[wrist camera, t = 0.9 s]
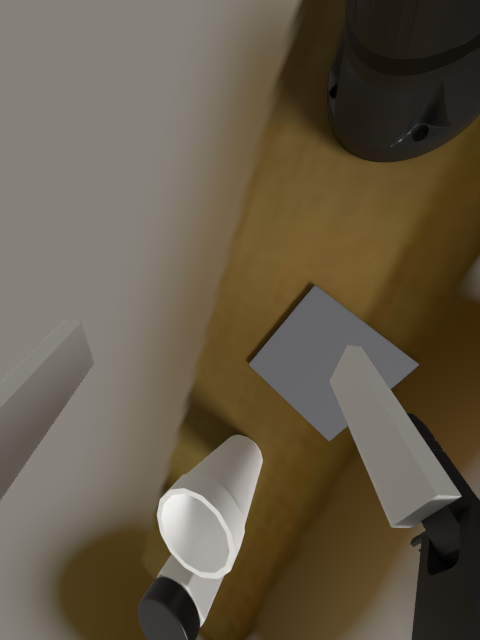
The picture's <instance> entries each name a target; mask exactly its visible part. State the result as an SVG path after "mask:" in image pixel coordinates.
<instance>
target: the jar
mask: <svg viewBox="0 0 480 640" xmlns="http://www.w3.org/2000/svg"><path fill="white" fill-rule="evenodd" d="M223 577H224V576H222V577H221V578H219V579H212V578H202V577H200V576H198V575H196V574H195V573H193V572H191V571H190V570H188V569H186V568H185V567H184V566H183V565H182V564H181V563H180V562H179V561H178V560H177V559H176V558H175V557H174V555H173V554H171V556H170V557H169V559H168V560H167V562H166V563H165V565H164V566H163V568H162V569H161V571H160V572H159V574H158V576H157V578H156V579H155V580H154V581H153V583H152V585H151V586H150V588H149V589H148V590H147V592H146V594H145V595H144V596H143V598H142V599H141V601H140V603H139V607H138V618H139V622H140V626H141V628H142V631H143V633H144V635H145V637H146V638H147V640H196V638H197V636H198V633H199V631H200V627H201V626H202V624H203V623H204V621H205V619H206V617H207V614H208V612H209V610H210V607H211V605H212V603H213V600H214V598H215V595H216V593H217V591H218V588H219V586H220V584H221V581H222V579H223Z"/></svg>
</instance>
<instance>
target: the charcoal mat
mask: <svg viewBox="0 0 480 640" xmlns="http://www.w3.org/2000/svg"><path fill="white" fill-rule="evenodd" d="M347 345H351V346H361V347H362V348H363V350H364V351H365V353H366V354H367V356H368V357H369V359H370V360H371V362H372V363H373V365H374V366H375V368H376V369H377V371H378V372H379V374H380V375H381V377H382V378H383V380H384V381H385V383H386V384H387V386H388V387H389V389H391V388H393V387H394V386H395V385H396V384H397V383H398V382H400V381H401V380H402V379H403V378H404V377H406V376H407V375H408V374H409V373H410V372H411V371H413V370H414V369H415V368H416V367H417V366H419V364H418V363H417V362H415V361H414V360H413V359H411V358H410V357H409V356H408V355H406V354H405V353H404V352H402V351H401V350H400V349H398V348H397V347H396V346H394V345H393V344H392V343H391V342H389V341H388V340H387V339H385V338H384V337H383V336H381V335H380V334H379V333H378V332H376V331H375V330H374V329H372V328H371V327H370V326H368V325H367V324H366V323H364V322H363V321H362V320H361V319H359V318H358V317H357V316H355V315H354V314H353V313H351V312H350V311H349V310H347V309H346V308H345V307H344V306H342V305H341V304H340V303H338V302H337V301H336V300H334V299H333V298H332V297H331V296H329V295H328V294H327V293H325V292H324V291H323V290H321V289H320V288H319V287H317V286H316V285H315V286H314V287H313V288H312V289H311V290H310V292H309V293H308V294H307V295H306V296H305V298H304V299H303V300H302V301H301V302H300V304H299V305H298V306H297V307H296V308H295V310H294V311H293V312H292V313H291V314H290V316H289V317H288V318H287V319H286V320H285V322H284V323H283V324H282V325H281V326H280V328H279V329H278V330H277V331H276V332H275V333H274V335H273V336H272V337H271V338H270V339H269V341H268V342H267V343H266V344H265V345H264V347H263V348H262V349H261V350H260V351H259V353H258V354H257V355H256V356H255V357H254V359H253V360H252V361H251V362H250V363H249V366H251V367H252V368H253V369H254V370H255V371H256V372H257V373H258V374H259V375H260V376H261V377H262V378H263V379H264V380H265V381H266V382H267V383H268V384H269V385H270V386H272V387H273V388H274V389H275V390H276V391H277V392H278V393H279V394H280V395H281V396H282V397H283V398H284V399H285V400H286V401H287V402H288V403H289V404H290V405H291V406H293V407H294V408H295V409H296V410H297V411H298V412H299V413H300V414H301V415H302V416H303V417H304V418H305V419H306V420H307V421H308V422H309V423H310V424H311V425H312V426H314V427H315V428H316V429H317V430H318V431H319V432H320V433H321V434H322V435H323V436H324V437H325V438H326V439H327V440H328V441H330V440H331V439H333V438H334V437H335V436H336V435H337V434H338V433H340V432H341V431H342V430H343V429H344V428H345V427H347V426H348V424H347V422H346V419H345V417H344V415H343V412H342V410H341V408H340V405H339V403H338V400H337V398H336V396H335V393H334V391H333V389H332V386H331V384H330V382H329V381H330V379H331V377H332V375H333V373H334V371H335V369H336V367H337V365H338V363H339V361H340V359H341V357H342V355H343V353H344V351H345V349H346V347H347Z"/></svg>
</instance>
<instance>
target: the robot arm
mask: <svg viewBox="0 0 480 640" xmlns="http://www.w3.org/2000/svg"><path fill="white" fill-rule="evenodd" d="M327 102H328V114H329V120H330V124H331V127H332V130H333V132H334V134H335V136H336V138H337V139H338V141H339V142H340V143H341V144H342V146H344V147H345V148H346V149H347V150H348V151H349V152H351V153H353V154H354V155H356V156H358V157H361V158H363V159H367V160H371V161H377V162H394V161H402V160H407V159H411V158H414V157H417V156H420V155H423V154H425V153H428V152H430V151H432V150H434V149H436V148H438V147H440V146H442V145H443V144H445V143H447V142H448V141H450V140H451V139H453V138H454V137H455V136H457V135H458V134H459V133H461V132H462V131H463V130H464V129H466V128H467V127H468V126H469V125H470V124H471V123H472V122H473V121H474V120H475V119H476V118H477V117H478V116H479V115H480V0H346V19H345V22H344V25H343V29H342V32H341V35H340V39H339V42H338V45H337V48H336V52H335V55H334V58H333V62H332V65H331V69H330V73H329V79H328V87H327ZM93 364H94V361H93V358H92V355H91V351H90V348H89V344H88V341H87V338H86V335H85V331H84V328H83V324H82V321H72V320H64V321H63V322H62V323H61V324H60V325H59V326H57V327H56V328H55V329H54V330H53V331H52V332H51V333H50V334H49V335H48V336H47V337H46V338H45V339H44V340H43V341H42V342H41V343H39V344H38V346H36V347H35V348H34V349H33V350H32V351H31V352H30V353H29V354H28V355H27V356H26V357H25V358H24V359H23V360H22V361H21V362H19V363H18V365H16V366H15V367H14V368H13V369H12V370H11V371H10V372H9V373H8V374H7V375H6V376H5V377H4V378H3V379H2V380H1V381H0V500H1V499H2V497H3V496H4V494H5V493H6V492H7V490H8V489H9V487H10V486H11V484H12V483H13V481H14V480H15V478H16V477H17V475H18V474H19V472H20V471H21V470H22V468H23V467H24V465H25V464H26V462H27V461H28V459H29V458H30V457H31V455H32V454H33V452H34V451H35V449H36V448H37V446H38V445H39V443H40V442H41V440H42V439H43V438H44V436H45V435H46V433H47V432H48V430H49V429H50V427H51V426H52V424H53V423H54V421H55V420H56V418H57V417H58V416H59V414H60V412H61V411H62V410H63V408H64V407H65V405H66V404H67V402H68V401H69V400H70V398H71V397H72V395H73V394H74V392H75V391H76V389H77V388H78V386H79V385H80V383H81V382H82V381H83V379H84V378H85V376H86V375H87V373H88V372H89V370H90V369H91V367H92V366H93ZM329 382H330V384H331V386H332V389H333V391H334V393H335V396H336V398H337V400H338V403H339V405H340V408H341V410H342V412H343V415H344V417H345V419H346V422H347V424H348V426H349V429H350V431H351V433H352V436H353V438H354V441H355V443H356V445H357V448H358V450H359V452H360V455H361V457H362V459H363V462H364V464H365V466H366V469H367V471H368V474H369V476H370V478H371V480H372V483H373V485H374V487H375V490H376V492H377V495H378V497H379V499H380V502H381V504H382V507H383V509H384V511H385V514H386V516H387V518H388V521H389V523H390V525H391V527H396V528H397V527H398V528H412V527H414V526H415V525H417V524H418V523H420V522H422V524H423V526H424V528H425V530H426V531H425V532H423V533H421V534H420V535H418V536H416V537H415V538H413V539H412V541H411V545H412V546H416V545H418V544H420V543H421V549H419V551H420V552H421V553H420V564H419V572H418V573H419V574H418V582H417V592H416V603H415V613H414V622H413V632H412V640H480V500H479V499H478V498H477V496H476V495H475V494H474V493H473V491H472V490H471V488H470V487H469V485H468V484H467V483H466V481H465V480H464V478H463V477H462V476H461V474H460V473H459V471H458V470H457V469H456V467H455V466H454V465H453V463H452V462H451V460H450V459H449V457H448V456H447V455H446V453H445V452H443V450H442V448H441V446H440V445H439V443H438V442H437V441H435V438H434V436H433V435H432V434H431V432H430V431H429V429H428V428H427V427H426V425H425V424H424V423H423V422H421V421H420V420H419V419H418V418H417V417H416V416H415V415H414V414H409V413H406V412H405V411H404V410H403V408H402V406H401V405H400V403H399V402H398V400H397V399H396V397H395V396H394V394H393V393H392V392H391V390H390V389H389V387H388V386H387V384H386V383H385V381H384V380H383V378H382V377H381V375H380V374H379V372H378V371H377V369H376V368H375V366H374V365H373V363H372V362H371V360H370V359H369V357H368V356H367V354H366V353H365V351H364V350H363V348H362V347H361V346H351V345H347V347H346V349H345V351H344V353H343V355H342V357H341V359H340V361H339V363H338V365H337V367H336V369H335V371H334V373H333V375H332V377H331V379H330V381H329Z"/></svg>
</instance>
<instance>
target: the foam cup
mask: <svg viewBox="0 0 480 640" xmlns="http://www.w3.org/2000/svg"><path fill="white" fill-rule="evenodd" d="M262 462H263V460H262V455H261V451H260V449H259V448H258V446H257V445H256V443H255V442H253V441H252V440H251V439H250V438H248V437H246V436H242V435H234V436H231V437H230V438H228V439H227V440H226V441H225V442H224V443H222V444H221V445H220V446H219V447H218V448H217V449H215V450H214V451H213V452H212V453H211V454H209V455H208V456H207V457H206V458H205V459H204V460H202V461H201V462H200V463H199V464H198V465H197V466H195V467H194V468H193V469H192V470H191V471H189V472H188V473H187V474H183V475H182V476H181V477H180V478H179V479H178V480H177V481H176V482H175V483H174V484H173V485H172V487H171V488H170V489H169V490H168V491H167V492H166V493H165V494H164V495H163V497H162V498H161V499H160V502H159V507H158V512H157V518H158V523H159V528H160V533H161V535H162V537H163V539H164V541H165V543H166V545H167V547H168V549H169V550H170V552H171V553H172V554H173V555H174V557H175V558H176V559H177V560H178V561H179V562H180V563H181V564H182V565H183V566H184V567H185V568H186V569H188V570H190V571H191V572H193V573H195V574H196V575H198V576H200V577H202V578H212V579H219V578H221V577H222V576H224V575H225V574H227V573H228V572H230V571H231V568H232V566H233V564H234V561H235V559H236V556H237V554H238V551H239V549H240V546H241V543H242V540H243V536H244V533H245V530H244V526H245V522H246V519H247V515H248V512H249V508H250V505H251V501H252V497H253V494H254V490H255V487H256V483H257V480H258V476H259V473H260V469H261V466H262Z"/></svg>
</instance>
